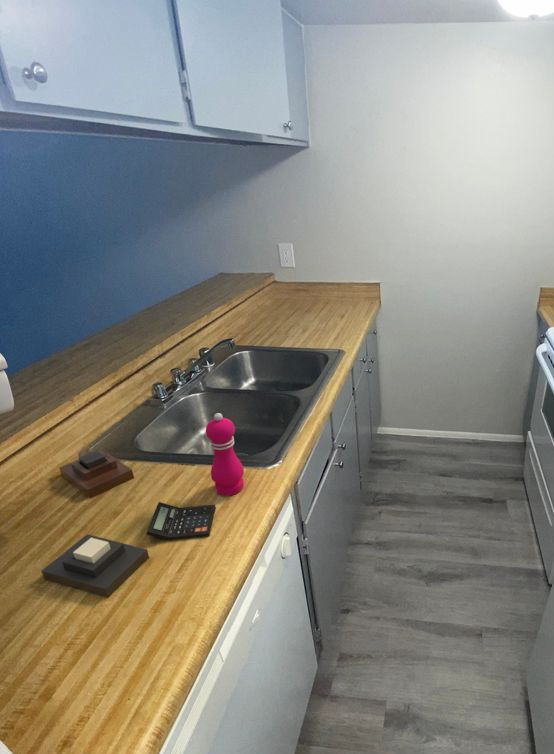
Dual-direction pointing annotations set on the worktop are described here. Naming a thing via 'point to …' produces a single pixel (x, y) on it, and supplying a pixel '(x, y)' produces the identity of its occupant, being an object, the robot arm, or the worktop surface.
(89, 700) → the worktop surface
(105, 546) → the near key
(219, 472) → the pepper mill
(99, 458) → the far key
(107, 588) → the key block
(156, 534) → the calculator
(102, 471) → the key block
